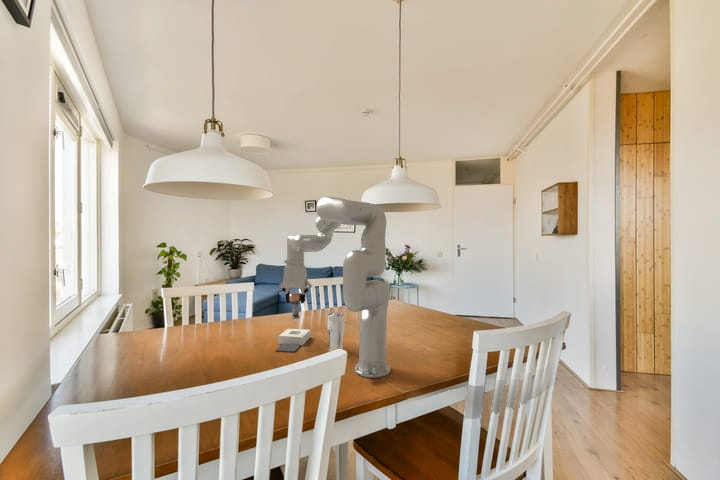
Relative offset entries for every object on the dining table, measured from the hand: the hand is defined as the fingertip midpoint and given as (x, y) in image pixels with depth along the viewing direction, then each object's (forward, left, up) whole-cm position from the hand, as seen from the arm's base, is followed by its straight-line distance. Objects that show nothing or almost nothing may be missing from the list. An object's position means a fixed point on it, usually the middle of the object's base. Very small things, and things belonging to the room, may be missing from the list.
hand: (295, 302), depth 141 cm
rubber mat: (-10, -1, -17) cm, 20 cm away
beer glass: (-9, -21, -18) cm, 29 cm away
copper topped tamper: (0, 0, -7) cm, 7 cm away
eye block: (0, 0, -17) cm, 17 cm away
